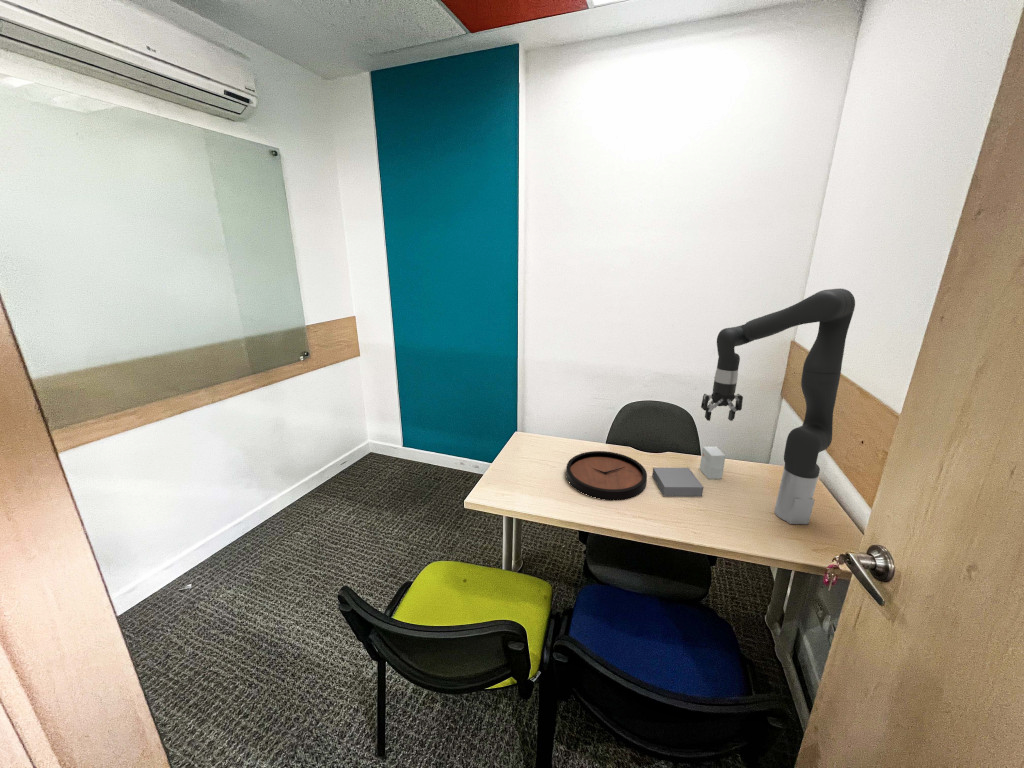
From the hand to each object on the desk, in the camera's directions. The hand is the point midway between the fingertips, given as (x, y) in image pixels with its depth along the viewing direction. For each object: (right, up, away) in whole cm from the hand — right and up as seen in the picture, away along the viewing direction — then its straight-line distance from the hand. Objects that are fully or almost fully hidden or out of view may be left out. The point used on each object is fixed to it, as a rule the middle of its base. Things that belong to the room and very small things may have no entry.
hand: (719, 420), depth 154 cm
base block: (-17, -25, 0) cm, 31 cm away
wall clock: (-43, -24, +6) cm, 50 cm away
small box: (0, -23, +8) cm, 24 cm away
